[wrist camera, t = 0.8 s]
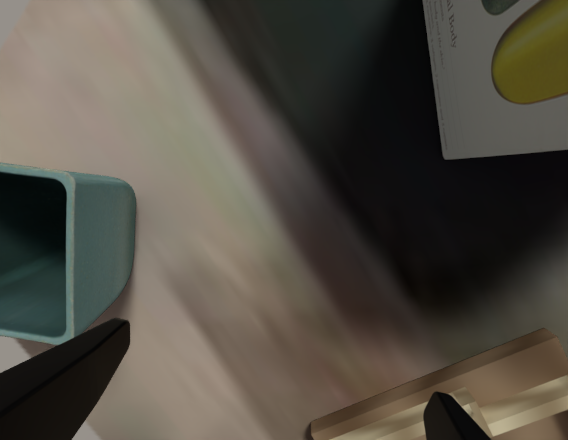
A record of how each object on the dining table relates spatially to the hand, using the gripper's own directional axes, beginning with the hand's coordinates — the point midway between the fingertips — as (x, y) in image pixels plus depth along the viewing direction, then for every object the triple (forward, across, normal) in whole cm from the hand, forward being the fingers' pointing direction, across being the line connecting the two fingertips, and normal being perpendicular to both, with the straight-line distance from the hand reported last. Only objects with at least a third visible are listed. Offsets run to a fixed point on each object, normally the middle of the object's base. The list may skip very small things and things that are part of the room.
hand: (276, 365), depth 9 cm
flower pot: (+14, +15, +4) cm, 20 cm away
